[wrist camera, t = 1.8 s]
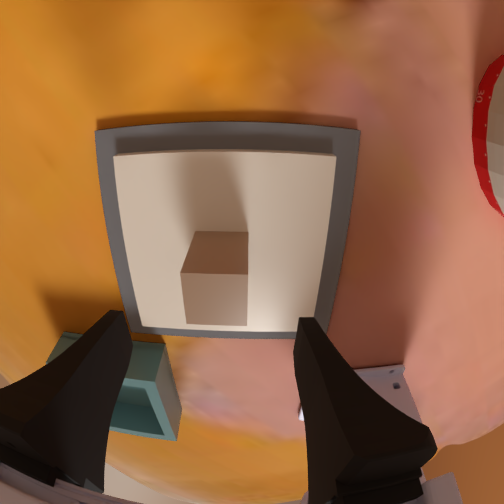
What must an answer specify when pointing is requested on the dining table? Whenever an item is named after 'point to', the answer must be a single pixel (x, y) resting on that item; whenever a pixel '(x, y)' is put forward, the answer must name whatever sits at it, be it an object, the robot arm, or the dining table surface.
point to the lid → (225, 235)
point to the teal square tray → (142, 392)
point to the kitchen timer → (490, 134)
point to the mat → (232, 137)
